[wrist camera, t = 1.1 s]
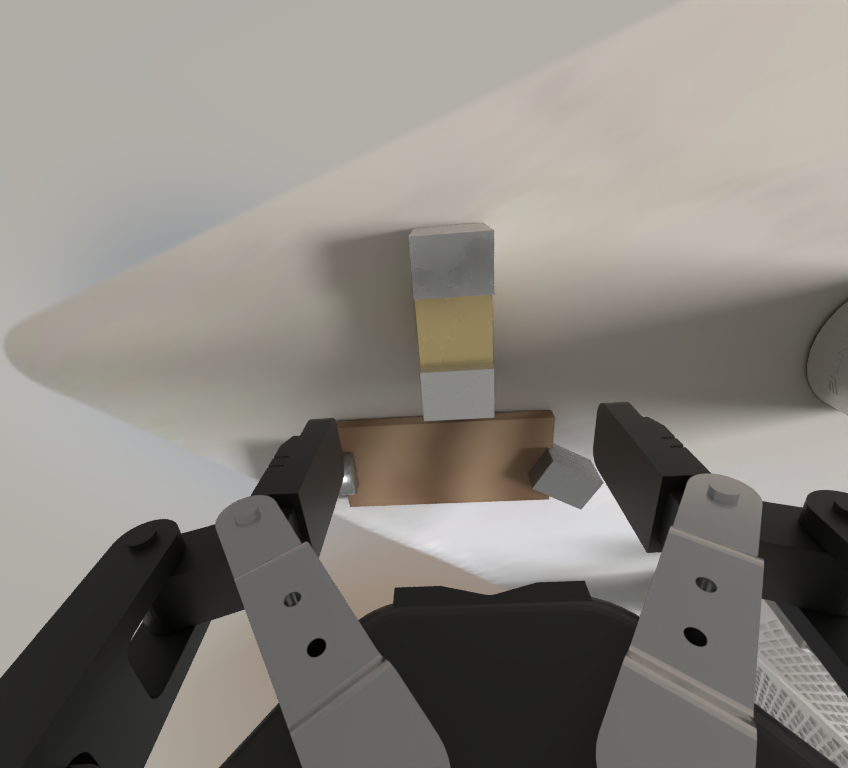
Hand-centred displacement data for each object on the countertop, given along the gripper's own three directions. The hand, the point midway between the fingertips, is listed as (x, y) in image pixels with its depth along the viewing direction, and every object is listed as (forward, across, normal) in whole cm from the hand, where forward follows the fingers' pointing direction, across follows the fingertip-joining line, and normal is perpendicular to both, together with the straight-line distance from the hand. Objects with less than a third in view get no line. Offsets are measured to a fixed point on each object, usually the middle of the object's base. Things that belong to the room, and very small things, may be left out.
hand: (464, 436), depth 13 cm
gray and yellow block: (+14, 0, 0) cm, 15 cm away
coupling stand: (+14, +1, +11) cm, 18 cm away
